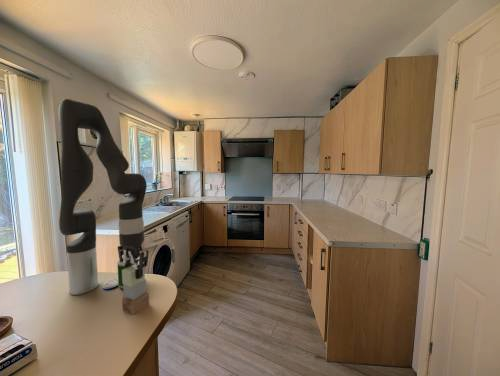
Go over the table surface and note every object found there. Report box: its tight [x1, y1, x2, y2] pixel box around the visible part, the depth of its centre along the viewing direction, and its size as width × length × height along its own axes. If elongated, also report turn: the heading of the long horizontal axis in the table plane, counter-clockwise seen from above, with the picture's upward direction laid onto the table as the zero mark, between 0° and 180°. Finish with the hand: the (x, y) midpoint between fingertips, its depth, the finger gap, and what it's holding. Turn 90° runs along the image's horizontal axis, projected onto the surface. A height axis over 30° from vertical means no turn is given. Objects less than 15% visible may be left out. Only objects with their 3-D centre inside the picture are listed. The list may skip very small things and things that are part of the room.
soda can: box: [117, 256, 139, 290], centre depth 85 cm, size 8×8×12 cm
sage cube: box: [122, 265, 146, 287], centre depth 70 cm, size 5×5×5 cm
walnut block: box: [121, 290, 150, 316], centre depth 71 cm, size 6×6×5 cm
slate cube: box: [123, 278, 147, 300], centre depth 71 cm, size 5×5×5 cm
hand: (133, 275), depth 70 cm, fingers open, 5 cm apart
